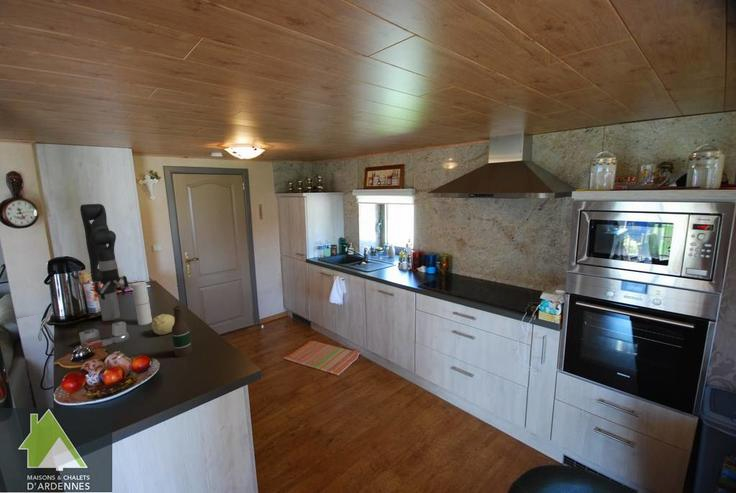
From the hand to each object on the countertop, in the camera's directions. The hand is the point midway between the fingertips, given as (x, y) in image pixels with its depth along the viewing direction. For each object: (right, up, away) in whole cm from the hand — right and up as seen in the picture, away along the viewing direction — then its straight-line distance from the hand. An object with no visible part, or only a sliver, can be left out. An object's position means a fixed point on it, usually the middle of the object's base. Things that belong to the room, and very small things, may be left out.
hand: (113, 297), depth 179 cm
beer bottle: (+47, -25, -16) cm, 56 cm away
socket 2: (+3, -20, +1) cm, 20 cm away
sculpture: (+23, -22, +9) cm, 33 cm away
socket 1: (-10, -25, -2) cm, 27 cm away
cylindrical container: (+1, -20, +25) cm, 32 cm away
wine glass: (-2, -25, -4) cm, 25 cm away
